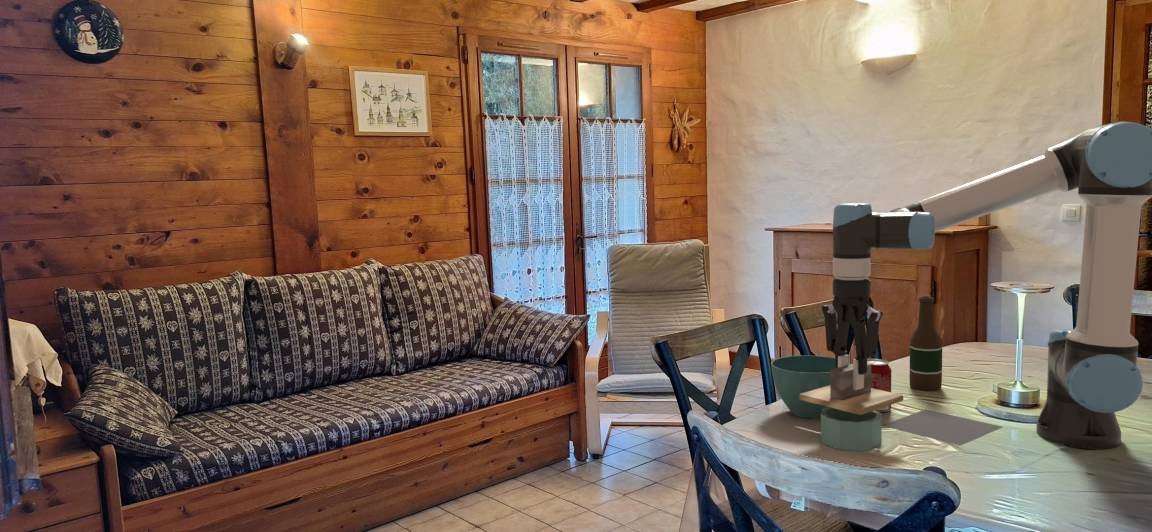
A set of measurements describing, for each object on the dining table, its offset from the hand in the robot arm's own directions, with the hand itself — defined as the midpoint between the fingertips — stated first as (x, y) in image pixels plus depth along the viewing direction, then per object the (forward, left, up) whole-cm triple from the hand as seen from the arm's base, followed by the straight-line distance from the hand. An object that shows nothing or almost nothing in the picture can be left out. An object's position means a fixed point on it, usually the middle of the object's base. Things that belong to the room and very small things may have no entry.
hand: (850, 386), depth 170 cm
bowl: (0, 0, -12) cm, 12 cm away
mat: (-8, -22, -12) cm, 26 cm away
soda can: (+9, -23, -12) cm, 28 cm away
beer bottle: (+12, -50, -12) cm, 53 cm away
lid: (0, 0, -3) cm, 3 cm away
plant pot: (+18, -10, -12) cm, 24 cm away
